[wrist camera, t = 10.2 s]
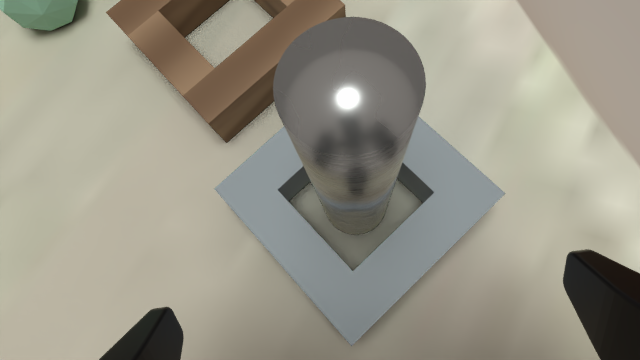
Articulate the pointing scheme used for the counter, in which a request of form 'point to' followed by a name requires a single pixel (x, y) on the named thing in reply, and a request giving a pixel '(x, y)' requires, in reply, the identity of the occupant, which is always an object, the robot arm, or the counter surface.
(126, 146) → the counter surface
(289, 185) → the socket block
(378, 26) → the axle
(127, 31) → the brown square frame
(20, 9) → the green faceted rod
